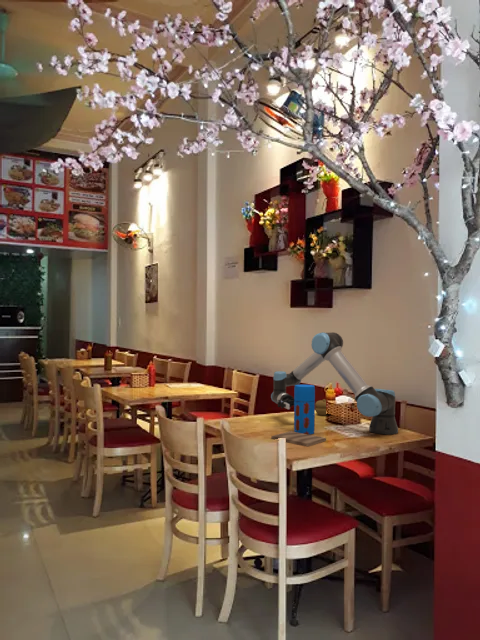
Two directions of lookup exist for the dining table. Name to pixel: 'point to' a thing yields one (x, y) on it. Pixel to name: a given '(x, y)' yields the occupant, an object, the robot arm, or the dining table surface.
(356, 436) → the dining table surface
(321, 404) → the pot
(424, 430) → the dining table surface
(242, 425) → the dining table surface
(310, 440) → the serving board
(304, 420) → the thermos
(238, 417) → the dining table surface
